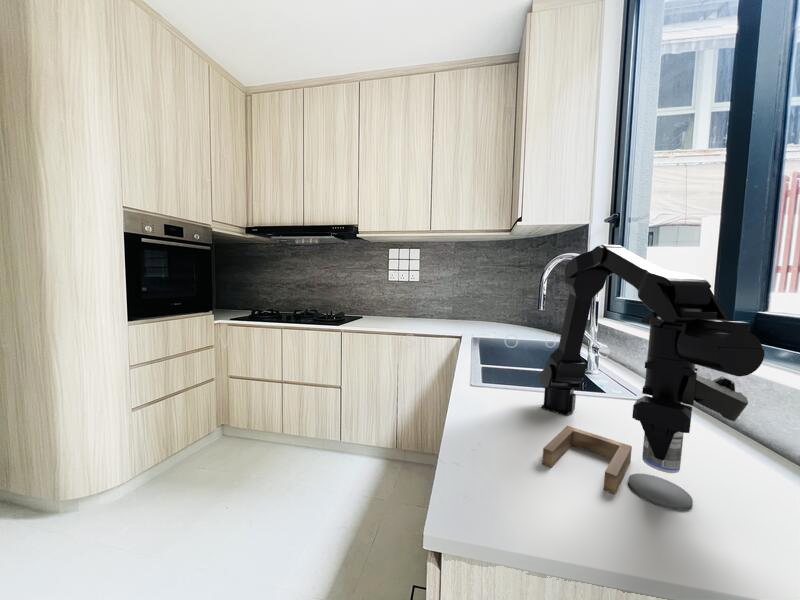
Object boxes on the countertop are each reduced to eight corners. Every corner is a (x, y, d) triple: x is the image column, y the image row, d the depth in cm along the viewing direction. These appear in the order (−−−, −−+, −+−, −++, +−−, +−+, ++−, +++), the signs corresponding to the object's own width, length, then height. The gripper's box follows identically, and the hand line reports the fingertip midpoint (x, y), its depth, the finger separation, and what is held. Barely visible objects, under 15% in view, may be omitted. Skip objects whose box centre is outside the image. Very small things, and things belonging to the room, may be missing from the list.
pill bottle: (644, 453, 55) (648, 405, 54) (681, 466, 51) (686, 414, 51) (639, 464, 51) (644, 413, 51) (678, 478, 48) (684, 423, 47)
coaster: (623, 491, 51) (624, 487, 51) (632, 471, 57) (632, 467, 57) (691, 518, 46) (691, 514, 46) (693, 493, 51) (693, 489, 51)
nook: (542, 464, 58) (543, 448, 58) (566, 439, 68) (567, 425, 68) (615, 494, 50) (616, 476, 50) (630, 461, 60) (631, 446, 60)
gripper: (752, 382, 38) (738, 508, 39) (741, 358, 51) (730, 452, 52) (636, 362, 45) (627, 468, 46) (653, 345, 59) (645, 428, 60)
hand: (661, 453), depth 51 cm, fingers closed on pill bottle, 5 cm apart
